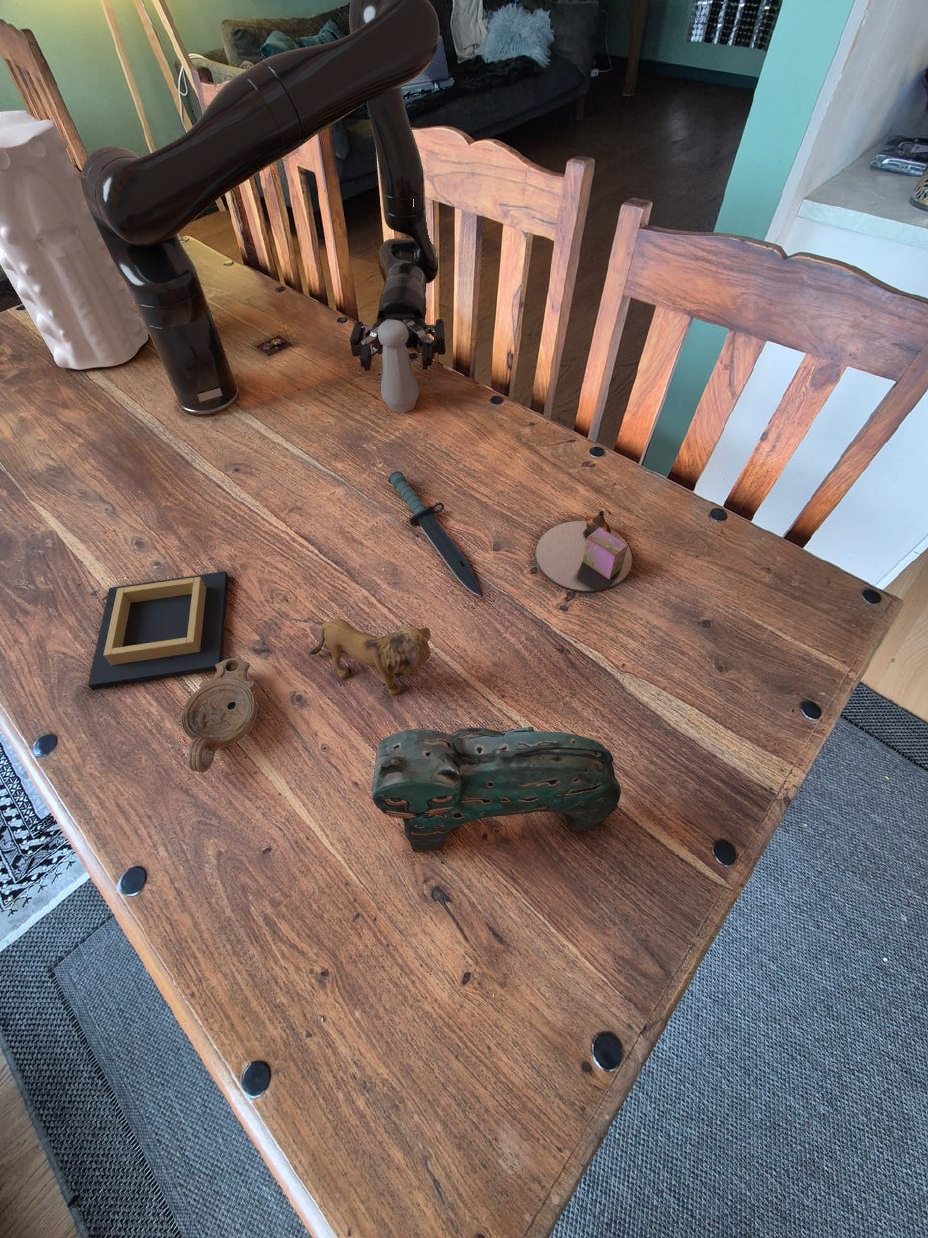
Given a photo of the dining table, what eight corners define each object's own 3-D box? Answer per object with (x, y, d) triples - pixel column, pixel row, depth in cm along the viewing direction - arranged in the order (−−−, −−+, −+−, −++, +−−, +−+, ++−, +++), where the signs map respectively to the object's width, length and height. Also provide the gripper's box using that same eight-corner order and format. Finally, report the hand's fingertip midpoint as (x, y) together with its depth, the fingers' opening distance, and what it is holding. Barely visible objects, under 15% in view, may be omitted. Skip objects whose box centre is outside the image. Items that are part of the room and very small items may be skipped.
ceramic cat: (394, 866, 58) (358, 777, 42) (392, 797, 62) (360, 691, 46) (611, 845, 58) (658, 749, 42) (596, 778, 62) (634, 667, 46)
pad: (113, 592, 78) (101, 576, 76) (228, 576, 79) (220, 560, 77) (92, 690, 70) (78, 675, 67) (221, 670, 71) (212, 655, 69)
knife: (381, 477, 86) (413, 462, 87) (384, 488, 88) (416, 473, 89) (467, 598, 75) (503, 579, 76) (469, 608, 77) (504, 589, 78)
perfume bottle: (651, 554, 79) (659, 528, 76) (590, 609, 75) (596, 584, 71) (576, 508, 85) (580, 482, 81) (515, 556, 80) (516, 530, 76)
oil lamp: (214, 668, 71) (198, 643, 67) (279, 674, 70) (267, 648, 66) (169, 780, 63) (148, 759, 59) (242, 787, 63) (225, 766, 59)
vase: (126, 312, 120) (27, 99, 94) (169, 344, 112) (75, 122, 87) (37, 349, 113) (-96, 129, 87) (77, 385, 105) (-55, 157, 80)
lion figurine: (441, 664, 71) (436, 615, 63) (427, 705, 68) (420, 658, 60) (318, 638, 73) (300, 587, 66) (299, 676, 70) (278, 628, 63)
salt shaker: (414, 418, 98) (406, 337, 87) (378, 414, 98) (366, 334, 88) (423, 396, 101) (416, 315, 91) (388, 392, 102) (378, 312, 91)
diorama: (287, 344, 111) (284, 333, 109) (269, 353, 110) (266, 341, 108) (278, 338, 113) (275, 327, 111) (260, 346, 111) (257, 335, 109)
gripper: (354, 285, 100) (342, 341, 90) (445, 283, 100) (443, 339, 90) (362, 331, 106) (351, 388, 96) (447, 329, 106) (445, 386, 96)
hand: (395, 364), depth 93 cm, fingers open, 8 cm apart
